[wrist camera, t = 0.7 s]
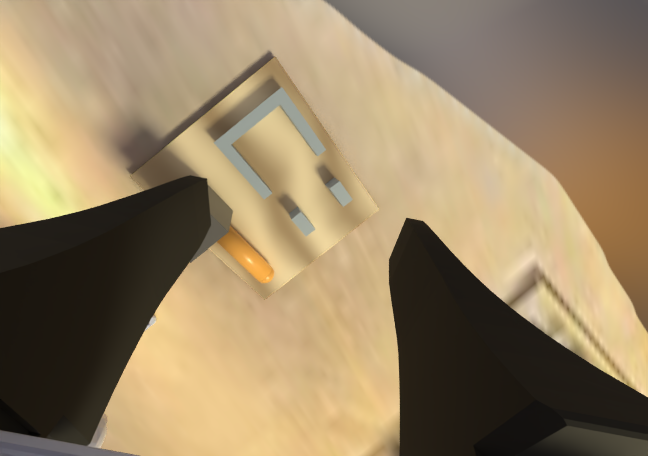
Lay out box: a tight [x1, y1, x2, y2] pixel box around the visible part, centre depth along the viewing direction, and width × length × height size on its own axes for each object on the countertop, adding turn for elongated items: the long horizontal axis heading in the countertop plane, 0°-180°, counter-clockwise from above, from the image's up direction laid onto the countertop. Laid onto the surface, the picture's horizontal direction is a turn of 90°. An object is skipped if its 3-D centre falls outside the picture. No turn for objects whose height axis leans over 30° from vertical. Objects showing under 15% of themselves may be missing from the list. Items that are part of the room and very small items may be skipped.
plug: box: [190, 185, 274, 283], centre depth 27 cm, size 4×12×6 cm, turn 36°
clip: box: [289, 178, 353, 236], centre depth 29 cm, size 6×2×2 cm, turn 127°
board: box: [130, 57, 379, 300], centre depth 29 cm, size 16×18×1 cm
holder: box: [214, 87, 326, 199], centre depth 27 cm, size 8×7×1 cm
